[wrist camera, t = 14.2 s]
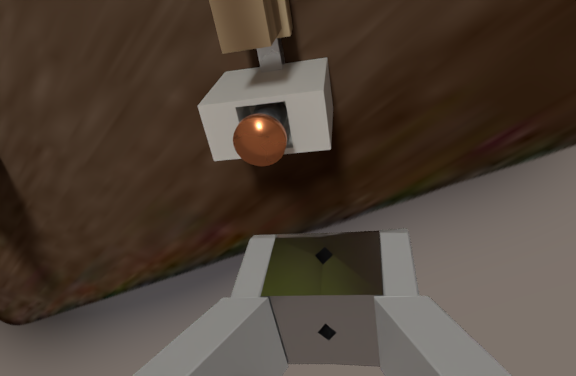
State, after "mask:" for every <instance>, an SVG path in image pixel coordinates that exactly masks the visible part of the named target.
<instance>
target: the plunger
mask: <svg viewBox="0 0 576 376" xmlns="http://www.w3.org/2000/svg"><path fill="white" fill-rule="evenodd" d="M286 117H287V108H286V106H285V104H284V103H283V102H275V103H267V104H259V105H256V107H255V109H254V111H253V113H252V114H251V115H249V116H247V117H245V118H243V119H242V120H241V121H240V123H239V124H238V126H237V127H236V129H235V132H234V135H233V145H234V148H235V150H236V152H237V154H238V155H239V156H240V157H241V158H242V159H243V160H244V161H246V162H247V163H250V164H252V165H255V166H268V165H272V164H274V163H276V162H277V161H278V160H279V159H280V158H281V157H282V156H283V154H284V152H285V149H286V145H287V134H286V131H285V129H284V124H285V121H286Z"/></svg>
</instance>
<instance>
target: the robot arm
mask: <svg viewBox="0 0 576 376" xmlns="http://www.w3.org/2000/svg"><path fill="white" fill-rule="evenodd" d="M380 247H381V249H380ZM381 261H382V262H381ZM288 364H342V365H343V364H344V365H361V366H379V367H381V370H382V372H383V373H384V375H385V376H512V375H511V374H510V373H509V372H508V371H507V370H506V369H505V368H504V367H503V366H501V365H500V364H499V363H498V362H497V361H496V360H495V359H494V358H493V357H492V356H491V355H490V354H489V353H488V352H487V351H486V350H485V349H484V348H483V347H482V346H481V345H480V344H478V343H477V342H476V341H475V340H474V339H473V338H472V337H471V336H470V335H469V334H468V333H467V332H466V331H465V330H464V329H463V328H462V327H461V326H459V325H458V323H456V322H455V321H454V320H453V319H452V318H451V317H450V316H449V315H448V314H447V313H446V312H445V311H444V310H443V309H442V308H441V307H440V306H439V305H438V304H437V303H436V302H434V301H433V300H432V299H431V298H430V297H429V296H419V291H418V284H417V278H416V272H415V266H414V259H413V254H412V247H411V241H410V235H409V231H408V230H407V228H405V229H404V228H403V229H388V230H380V236H379V231H364V232H344V233H312V234H278V235H254V236H253V237H252V238H251V239H250V240H249V243H248V246H247V249H246V252H245V255H244V258H243V261H242V264H241V267H240V270H239V273H238V276H237V279H236V281H235V284H234V287H233V291H232V293H231V296H230V298H222V299H221V300H220V301H218V302H217V303H216V304H215V305H214V306H212V307H211V308H210V309H209V310H208V311H207V312H206V313H204V314H203V315H202V316H201V317H200V318H199V319H197V320H196V321H195V322H194V323H193V324H192V325H190V326H189V327H188V328H187V329H186V330H185V331H184V332H182V333H181V334H180V335H179V336H178V337H177V338H175V339H174V340H173V341H172V342H171V343H170V344H169V345H167V346H166V347H165V348H164V349H163V350H161V351H160V352H159V353H158V354H157V355H156V356H155V357H153V358H152V359H151V360H150V361H149V362H147V364H145V365H144V366H143V367H142V368H141V369H139V370H138V371H137V372H136V373H135V374H134V375H132V376H282V375H283V374H284V372H285V371H286V370H287V368H288Z"/></svg>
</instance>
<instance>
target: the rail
mask: <svg viewBox="0 0 576 376" xmlns="http://www.w3.org/2000/svg"><path fill="white" fill-rule="evenodd" d="M257 54H258V59H259V63H260V68H261V73H262V72H269V71H276V70H283V68H284V65H285V59H284V53H283V47H282V41H281V38H276V39H275V41H274V42H273V44H272V46H270V47H263V48H257Z"/></svg>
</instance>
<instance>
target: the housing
mask: <svg viewBox="0 0 576 376" xmlns="http://www.w3.org/2000/svg"><path fill="white" fill-rule="evenodd" d="M275 102H283V103H284V104H285V106H286V108H287V117H286V121H285V124H284V129H285V131H286V134H287V145H286V149H285V152H284V154H291V153H302V152H312V151H322V150H331V139H332V120H333V103H332V94H331V85H330V77H329V68H328V59H327V58H320V59H313V60H306V61H299V62H292V63H285V65H284V68H283V70H276V71H269V72H262V73H261V68H260V67H256V68H249V69H242V70H235V71H228V72H225V73H224V74H223V75H222V76H221V78H220V79H219V80H218V81H217V83H216V84H215V85H214V86H213V88H212V89H211V90H210V91H209V92H208V94H207V95H206V96H205V97H204V99H203V100H202V101H201V102H200V103H199V105H198V109H199V113H200V116H201V119H202V122H203V126H204V129H205V132H206V136H207V139H208V142H209V146H210V149H211V152H212V156H213V159H214V161H220V160H230V159H241V157H240V156H239V155H238V154H237V152H236V150H235V148H234V145H233V135H234V132H235V129H236V127H237V126H238V124H239V123H240V121H241V120H242V119H243V118H245V117H247V116H249V115H251V114H252V113H253V111H254V109H255V107H256V105H259V104H267V103H275Z"/></svg>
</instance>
